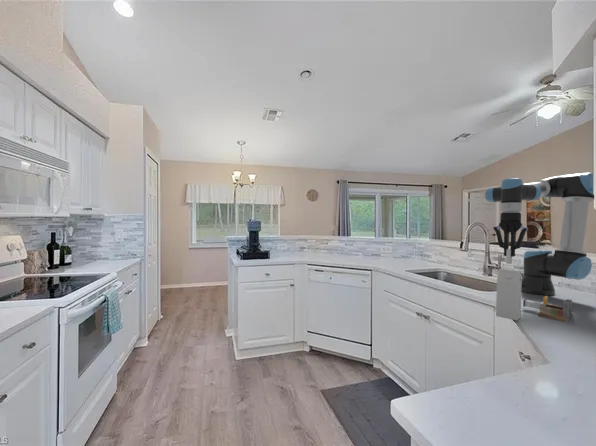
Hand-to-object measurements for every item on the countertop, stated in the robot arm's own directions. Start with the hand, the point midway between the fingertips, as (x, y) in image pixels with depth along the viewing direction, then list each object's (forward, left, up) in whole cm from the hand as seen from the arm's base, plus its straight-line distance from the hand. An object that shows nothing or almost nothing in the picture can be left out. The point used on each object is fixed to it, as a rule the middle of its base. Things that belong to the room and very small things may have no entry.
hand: (509, 263), depth 127 cm
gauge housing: (0, +16, -20) cm, 25 cm away
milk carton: (+18, +5, -20) cm, 27 cm away
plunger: (0, +10, -18) cm, 21 cm away
